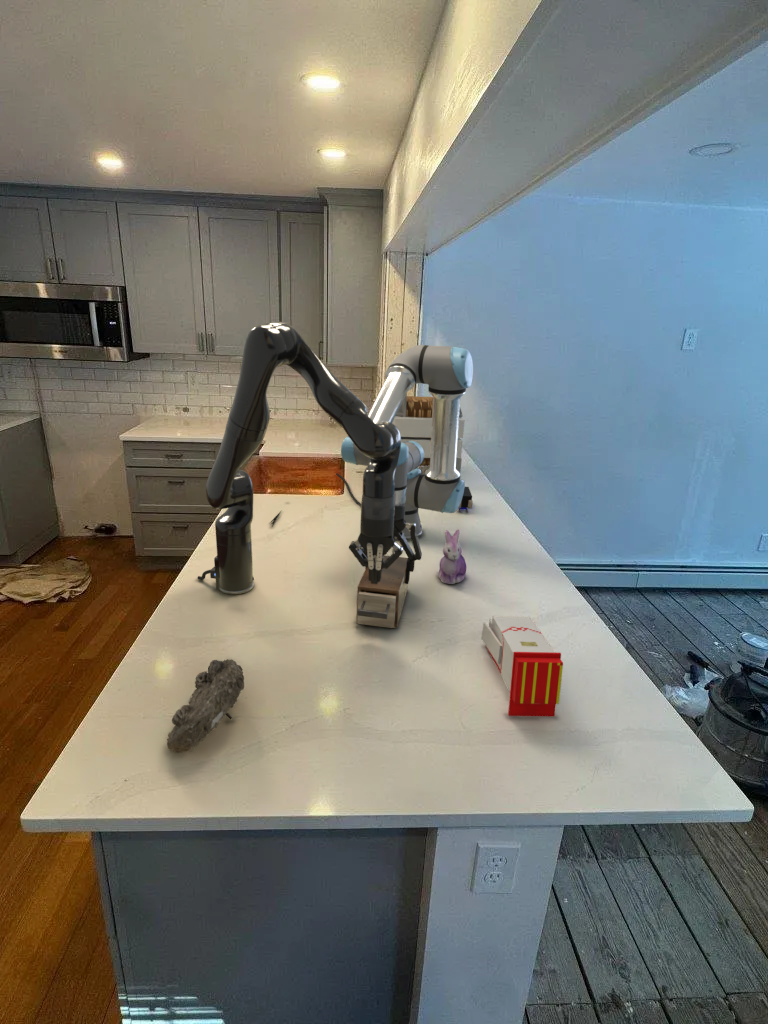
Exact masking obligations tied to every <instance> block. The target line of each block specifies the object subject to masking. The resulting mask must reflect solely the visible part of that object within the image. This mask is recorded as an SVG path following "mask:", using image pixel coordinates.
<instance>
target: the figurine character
mask: <svg viewBox="0 0 768 1024" xmlns="http://www.w3.org/2000/svg"><path fill="white" fill-rule="evenodd" d="M473 502H474V501H473V495H472V492H471V489H470V486H465V488H464V493H463V497H462V500H461V503H460V505H459V507H458V512H459V513H462V511H465V512H466V513H469V510H468V509H470V510H471V509H473V507H474V503H473Z"/></svg>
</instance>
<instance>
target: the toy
mask: <svg viewBox="0 0 768 1024" xmlns="http://www.w3.org/2000/svg"><path fill="white" fill-rule="evenodd" d="M481 632H482V633H481V640H482V642H483V644H484V646H485V648H486V650H487V652H488V654H489V655H490V657H491V659H492V661H493V663H494V664H495V666H496V668H497V670H498V671H499V674H500V676H501V678H502V680H503V682H504V684H505V687H506V688H507V690H508V692H509V700H508V702H509V703H508V710H507V711H508V712H507V715H508V717H551V718H552V717H553V718H555V716H556V707H557V705H559V704H560V698H561V697H560V695H561V688H562V687H561V686H562V678H563V669H564V662H563V661H562V653H561V652H556V651H555V649H554V648H553V647H552V645H551V644H550V643H549V641H548V639H547V638H546V637H545V635H544V634H543V633H542V631H541V630H540V629H539V628H538V626H537V624H536V622H535V621H534V620H533V619H532V617H531V616H514V615H513V616H512V615H511V616H508V615H507V616H506V615H505V616H504V615H492V618H489V620H488V623H487V621H483V623H482V631H481Z"/></svg>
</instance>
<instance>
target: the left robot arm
mask: <svg viewBox="0 0 768 1024" xmlns="http://www.w3.org/2000/svg"><path fill="white" fill-rule="evenodd" d="M241 361H242V362H241V367H240V371H239V378H238V381H237V386H236V388H235V389H236V390H235V393H234V397H233V401H232V404H231V408H230V411H229V413H228V417H227V420H226V425H225V430H224V432H223V433H224V434H223V437H222V440H221V444H220V447H219V450H218V453H217V456H216V458H215V461H214V462H213V465H212V468H211V470H210V472H209V474H208V477H207V480H206V485H205V496H206V500H207V503H208V504H209V505H210V506H211V507H212V508H213V509H216V510H225V511H224V512H223V513H222V514H221V515H220V516H218V517H217V518H216V520H215V523H214V526H215V527H214V528H215V529H214V531H215V543H216V544H215V545H216V556H215V557H214V558H213V561H214V566H213V567H212V568H210V569H207V570H205V571H203V572H202V574H201V576H200V575H198V576H197V578H196V579H197V580H199V581H204V580H205V579H206V575H210V579H214V580H215V589H216V590H217V591H219V592H221V593H223V594H227V595H242V594H246V593H248V592H250V591H251V590H253V588H254V585H255V583H254V582H255V577H254V567H253V565H254V564H253V546H252V545H253V544H252V543H253V542H252V541H253V540H252V523H253V520H254V486H253V485H254V484H253V481H252V478H251V477H250V474H249V473H248V472H247V471H245V470H244V469H241V467H242V466H243V465H244V464H245V463H246V461H248V460H249V458H250V457H251V456H252V455H254V453H255V452H256V451H257V450H258V449H259V447H260V446H261V445H262V443H263V441H264V439H265V436H266V433H267V430H268V427H269V424H270V420H271V412H270V406H269V402H268V397H267V394H268V393H267V392H268V388H269V385H270V382H271V379H272V376H273V374H274V372H275V370H276V369H277V368H279V367H282V366H283V367H284V366H287V367H289V368H291V369H293V370H294V371H295V372H296V373H298V374H299V375H300V376H301V377H302V378H303V380H305V382H306V383H307V385H308V387H309V389H310V391H311V393H312V395H313V397H314V399H315V401H316V403H317V404H318V405H319V407H320V408H321V409H322V411H323V412H324V413H325V414H326V415H327V416H328V417H330V418H331V419H332V420H333V421H334V422H335V423H336V424H337V425H338V426H340V427H341V428H342V430H344V432H345V434H346V435H347V437H348V436H349V438H350V439H351V440H352V442H353V443H354V445H355V446H356V447H357V448H358V450H359V451H360V452H361V453H363V454H364V455H365V456H367V457H369V458H370V462H369V465H368V466H366V468H365V469H364V470H363V476H362V496H361V501H360V503H361V506H360V531H359V535H358V537H357V539H356V540H352V541H350V544H349V546H348V550H349V551H350V552H351V553H352V554H353V556H354V557H355V559H356V560H357V561H358V562H359V564H360V565H361V566H362V567H363V566H366V567H368V569H369V577H368V579H369V581H371V584H378V582H380V580H381V575H382V569H383V568H385V569H387V568H389V566H390V565H391V564H392V563H393V562H394V561H395V560H396V559H397V558H398V557H401V556H402V554H403V552H404V548H403V547H402V546H401V545H399V544H398V543H396V540H395V538H394V535H393V532H394V513H395V500H394V488H395V472H396V468H397V464H398V460H399V455H400V449H401V436H400V432H399V430H398V428H397V427H396V426H395V425H394V424H392V423H390V422H381V423H378V424H375V423H374V422H373V421H372V420H371V418H370V417H369V416H368V413H369V410H368V407H367V405H366V404H365V403H364V402H363V401H362V400H361V399H360V398H359V397H357V395H355V394H354V392H352V391H351V390H350V389H349V388H347V387H346V385H344V384H343V382H341V381H340V380H339V379H338V378H337V377H336V375H334V374H333V373H332V372H331V370H330V369H329V368H328V367H327V366H326V365H325V364H324V362H323V361H322V360H321V358H319V357H318V355H317V354H316V352H314V351H313V349H312V348H311V347H310V345H309V344H308V343H307V341H306V340H305V339H304V338H303V337H302V336H301V334H300V333H299V332H298V331H297V330H296V329H295V328H294V327H293V326H292V325H291V324H290V323H288V322H284V321H273V322H268V323H264V324H259V325H256V326H255V327H253V328H252V329H250V331H249V332H248V334H247V336H246V339H245V342H244V346H243V353H242V359H241ZM360 545H361V546H362V548H363V549H364V551H365V552H366V553H367V556H368V558H367V557H366V556H365V554H364V553H363V551H362V550H361V549H360V548H361V546H360ZM391 549H392V550H391ZM390 550H391V554H390V555H389V556H390V557H389V558H388V559H387V560H386V561H383V557H384V555H387V554H388V553H389V552H390ZM375 555H377V559H376V566H375Z"/></svg>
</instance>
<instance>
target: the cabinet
mask: <svg viewBox="0 0 768 1024" xmlns="http://www.w3.org/2000/svg"><path fill="white" fill-rule="evenodd" d="M390 556H391V555H387V554H385V555H384V557H383V561H386V560H387V559H388V558H389V557H390ZM376 559H377V555H375V566H376ZM407 559H408V557H405V556H399V557H398V558H397V559H396V560H395V561H394V562H393V563H392V564H391V565H390V566H389V568H387V569H385V568H383V569H382V575H381V580H380V582H378V584H371V581H369V579H368V577H369V569H368V567H366V569H365V568H364V572H363V574H362V576H361V577H360V580H359V582H358V584H357V589H356V590H357V591H356V592H357V593H356V613H357V612H358V593H359V592H364V591H373V592H381V593H390V594H395V596H396V606H395V624H394V628H397V629H398V625H399V623H400V619H401V615H402V612H403V608H404V604H405V601H406V598H407V597H406V596H407V593H408V585H409V583H408V584H406V567H407Z"/></svg>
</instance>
